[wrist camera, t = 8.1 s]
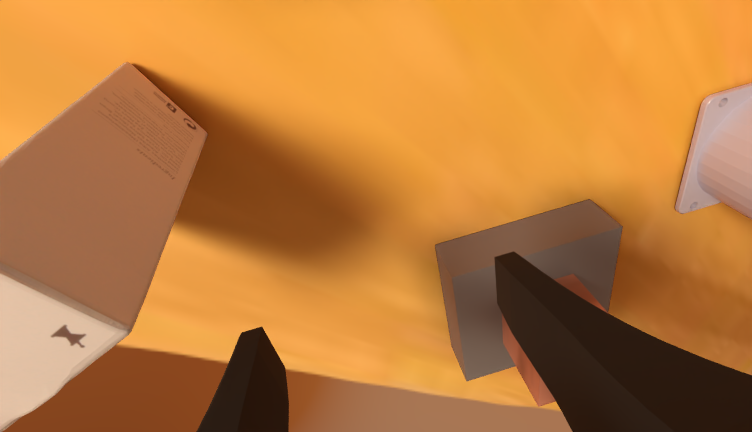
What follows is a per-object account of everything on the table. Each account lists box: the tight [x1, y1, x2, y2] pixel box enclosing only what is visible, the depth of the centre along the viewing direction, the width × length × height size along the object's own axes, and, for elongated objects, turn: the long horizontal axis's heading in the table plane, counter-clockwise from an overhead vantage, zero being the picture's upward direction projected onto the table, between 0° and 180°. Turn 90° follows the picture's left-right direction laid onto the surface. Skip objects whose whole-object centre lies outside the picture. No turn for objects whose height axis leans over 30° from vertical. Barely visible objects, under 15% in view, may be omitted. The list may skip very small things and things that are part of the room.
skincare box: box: [0, 62, 208, 432], centre depth 14 cm, size 6×4×12 cm
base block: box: [435, 199, 623, 381], centre depth 27 cm, size 10×10×3 cm
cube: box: [502, 274, 609, 407], centre depth 24 cm, size 4×4×4 cm
